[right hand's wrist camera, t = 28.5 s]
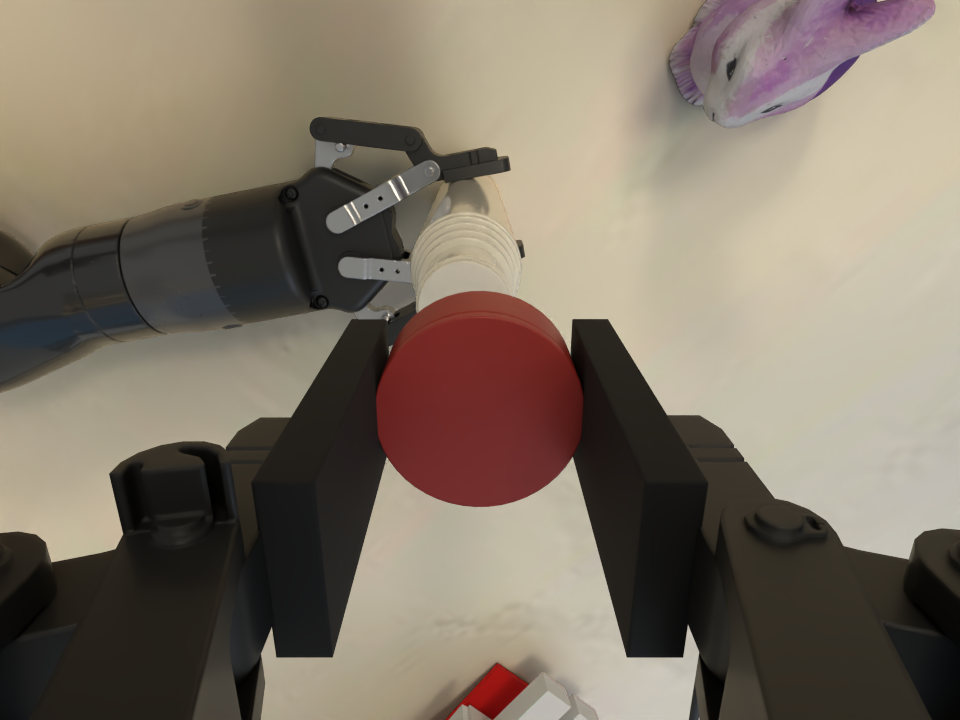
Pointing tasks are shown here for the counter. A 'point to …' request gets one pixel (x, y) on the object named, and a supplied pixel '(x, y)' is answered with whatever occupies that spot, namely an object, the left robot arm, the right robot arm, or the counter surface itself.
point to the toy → (520, 700)
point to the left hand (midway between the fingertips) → (514, 207)
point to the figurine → (780, 51)
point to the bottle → (465, 244)
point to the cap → (479, 400)
